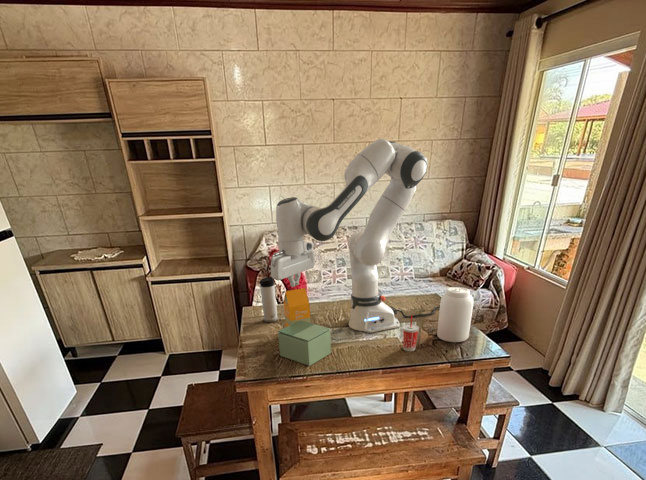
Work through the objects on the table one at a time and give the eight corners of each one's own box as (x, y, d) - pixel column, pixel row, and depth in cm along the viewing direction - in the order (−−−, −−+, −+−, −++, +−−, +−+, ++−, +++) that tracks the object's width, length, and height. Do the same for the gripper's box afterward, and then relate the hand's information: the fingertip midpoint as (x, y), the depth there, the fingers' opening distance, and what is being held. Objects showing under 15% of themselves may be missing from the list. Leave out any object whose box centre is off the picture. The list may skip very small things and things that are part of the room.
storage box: (280, 355, 157) (277, 330, 152) (302, 343, 166) (300, 320, 161) (309, 365, 149) (307, 340, 144) (331, 353, 158) (330, 328, 153)
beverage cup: (415, 345, 161) (417, 311, 154) (418, 351, 156) (421, 317, 149) (399, 345, 161) (401, 312, 154) (403, 352, 156) (405, 318, 149)
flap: (277, 331, 152) (277, 330, 152) (300, 321, 161) (300, 320, 161) (292, 336, 148) (292, 335, 148) (314, 325, 157) (314, 324, 157)
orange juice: (286, 333, 176) (282, 288, 166) (305, 330, 178) (302, 285, 169) (291, 340, 169) (288, 293, 159) (311, 336, 172) (309, 290, 162)
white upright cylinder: (444, 344, 160) (450, 295, 151) (431, 332, 171) (436, 285, 162) (473, 341, 162) (481, 292, 152) (459, 329, 173) (466, 283, 163)
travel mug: (276, 322, 187) (271, 280, 177) (262, 322, 188) (257, 279, 178) (280, 317, 192) (276, 276, 183) (266, 317, 194) (262, 275, 184)
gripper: (277, 254, 136) (281, 294, 143) (316, 242, 149) (318, 279, 156) (264, 253, 139) (269, 292, 146) (303, 241, 153) (305, 277, 160)
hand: (294, 285), depth 151 cm, fingers closed
